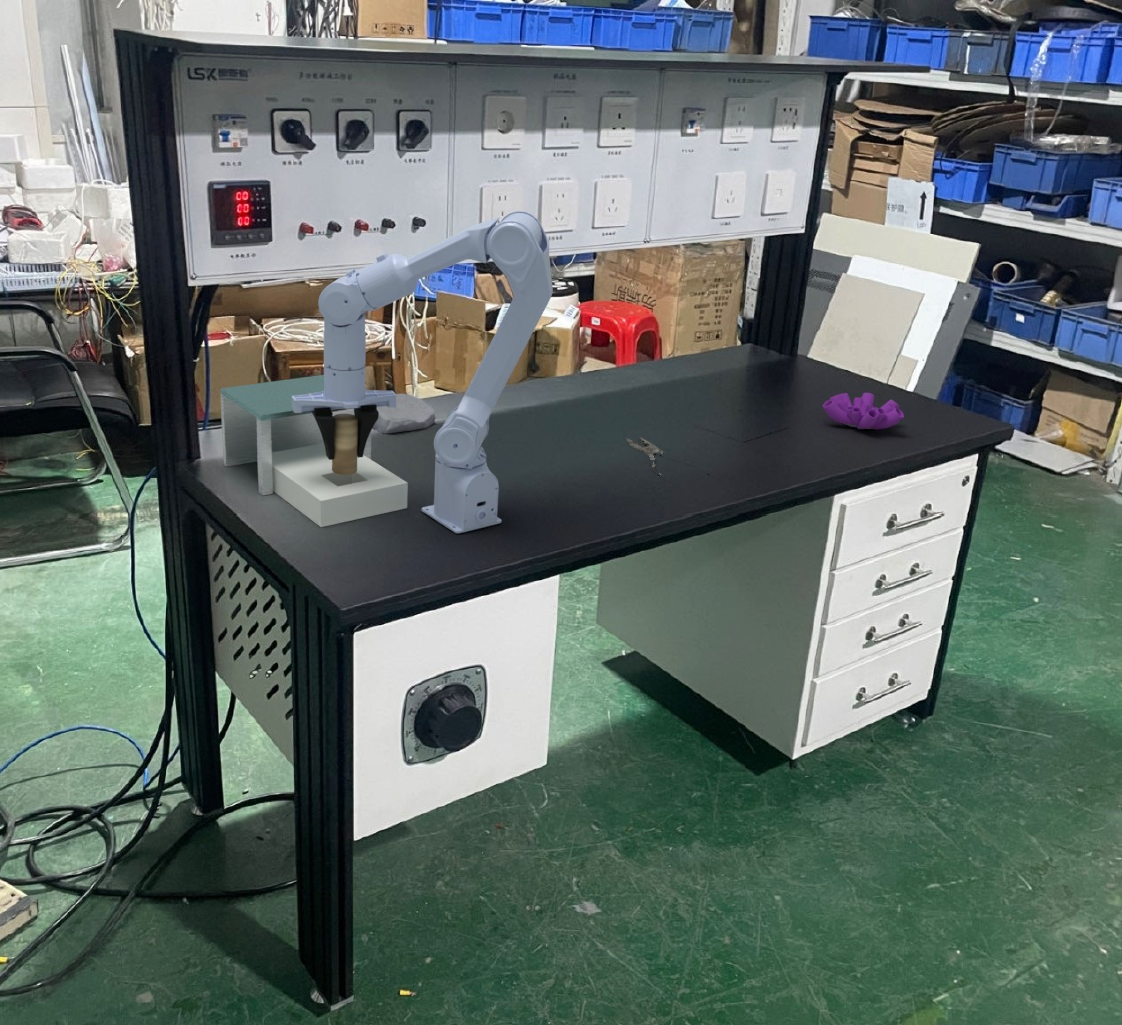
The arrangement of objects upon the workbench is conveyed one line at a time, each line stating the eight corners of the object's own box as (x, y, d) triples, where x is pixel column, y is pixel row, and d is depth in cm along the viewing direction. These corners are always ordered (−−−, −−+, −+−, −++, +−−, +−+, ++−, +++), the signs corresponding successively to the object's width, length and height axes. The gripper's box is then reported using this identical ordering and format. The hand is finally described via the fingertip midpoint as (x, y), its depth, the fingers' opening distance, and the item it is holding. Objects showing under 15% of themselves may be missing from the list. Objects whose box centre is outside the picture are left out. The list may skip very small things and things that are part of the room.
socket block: (407, 508, 163) (407, 482, 161) (320, 527, 154) (320, 500, 153) (340, 464, 176) (340, 440, 175) (258, 479, 168) (257, 454, 166)
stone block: (439, 433, 199) (401, 409, 204) (443, 410, 197) (405, 386, 201) (391, 450, 191) (352, 424, 195) (394, 426, 188) (355, 400, 193)
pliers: (676, 483, 179) (597, 444, 193) (675, 488, 180) (597, 448, 194) (718, 472, 185) (638, 435, 199) (717, 477, 185) (638, 440, 199)
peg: (359, 473, 160) (360, 422, 156) (334, 475, 158) (335, 423, 155) (354, 464, 163) (354, 413, 159) (329, 465, 161) (329, 414, 158)
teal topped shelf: (370, 474, 173) (371, 398, 169) (263, 495, 163) (260, 415, 158) (327, 446, 183) (327, 374, 178) (223, 464, 172) (220, 388, 167)
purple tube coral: (829, 432, 222) (849, 390, 223) (898, 453, 213) (919, 410, 214) (812, 408, 213) (834, 365, 214) (883, 429, 204) (905, 384, 205)
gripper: (298, 375, 148) (299, 470, 153) (403, 371, 154) (401, 462, 159) (287, 360, 154) (289, 452, 159) (389, 357, 160) (387, 445, 165)
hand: (344, 456), depth 160 cm, fingers closed on peg, 4 cm apart
